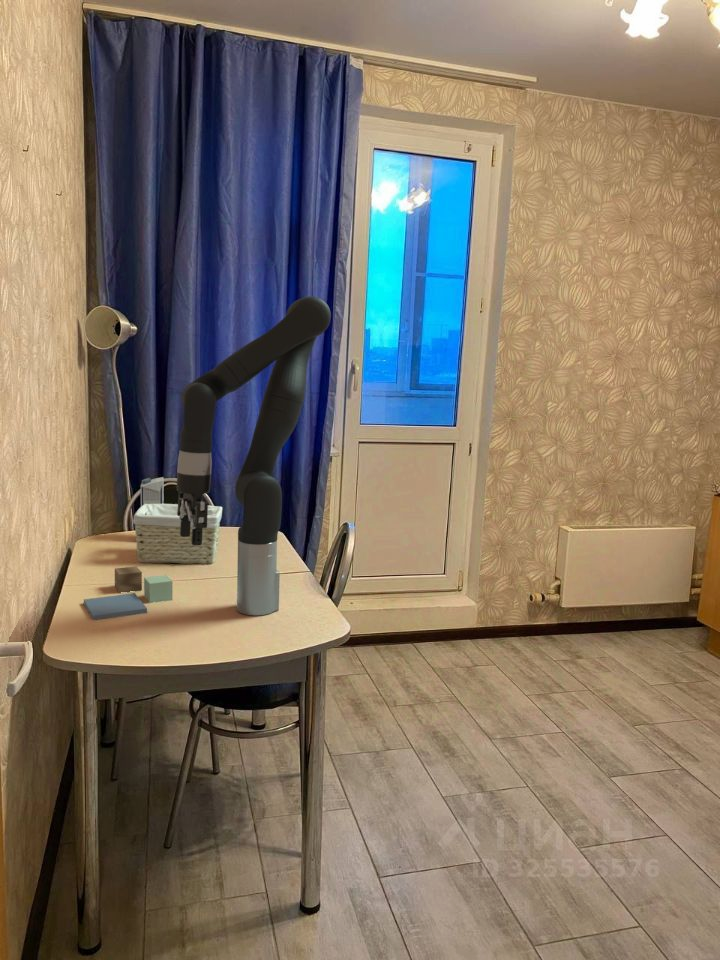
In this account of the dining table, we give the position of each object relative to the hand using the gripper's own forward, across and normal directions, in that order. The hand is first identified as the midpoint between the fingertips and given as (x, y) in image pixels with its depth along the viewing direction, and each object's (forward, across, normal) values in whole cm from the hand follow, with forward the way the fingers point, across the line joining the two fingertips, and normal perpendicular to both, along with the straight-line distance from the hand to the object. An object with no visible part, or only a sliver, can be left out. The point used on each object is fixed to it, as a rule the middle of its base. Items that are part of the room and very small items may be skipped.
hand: (190, 540), depth 170 cm
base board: (+18, +10, +14) cm, 25 cm away
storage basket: (+17, +46, -12) cm, 51 cm away
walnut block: (+18, +23, +8) cm, 31 cm away
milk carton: (+17, +69, -11) cm, 72 cm away
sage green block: (+18, +13, +3) cm, 22 cm away
